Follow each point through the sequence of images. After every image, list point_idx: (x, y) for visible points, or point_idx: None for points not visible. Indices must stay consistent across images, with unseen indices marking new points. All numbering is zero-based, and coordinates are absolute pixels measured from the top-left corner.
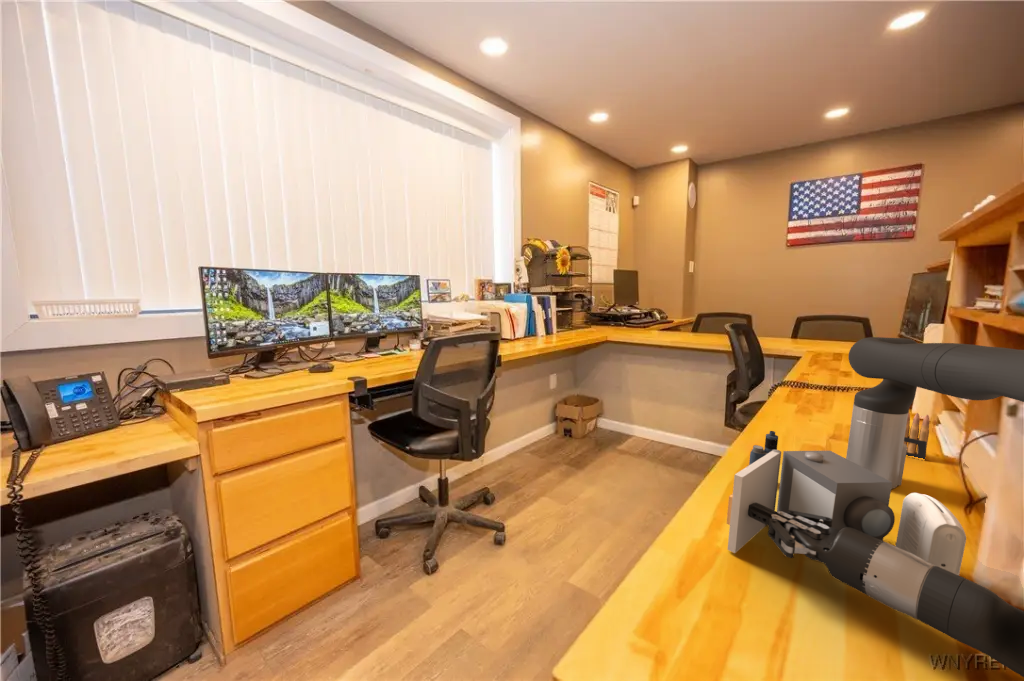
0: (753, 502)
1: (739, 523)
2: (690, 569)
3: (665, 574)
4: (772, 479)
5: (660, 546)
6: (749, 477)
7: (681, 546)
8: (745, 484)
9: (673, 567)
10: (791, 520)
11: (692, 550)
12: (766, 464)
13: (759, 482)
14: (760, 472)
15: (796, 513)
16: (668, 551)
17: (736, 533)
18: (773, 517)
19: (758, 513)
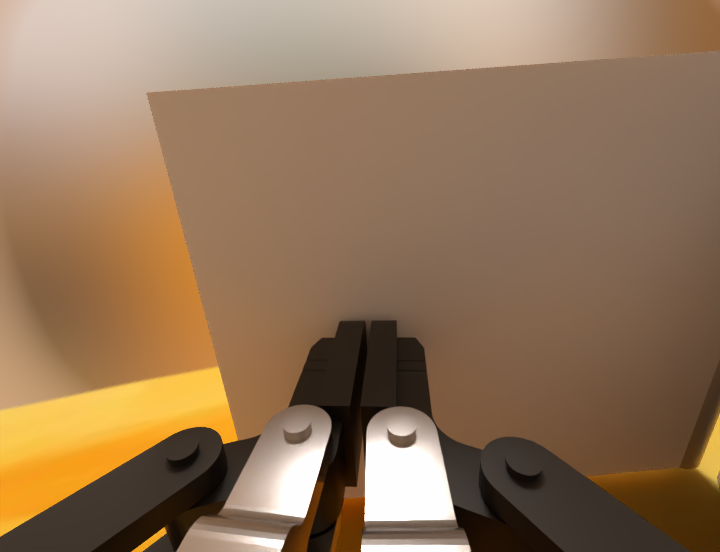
0: (408, 322)
1: (246, 391)
2: (68, 470)
3: (6, 445)
4: (686, 242)
5: (160, 378)
6: (284, 128)
7: (196, 400)
8: (233, 168)
9: (58, 439)
10: (239, 546)
11: (194, 423)
12: (577, 90)
13: (473, 212)
14: (475, 135)
15: (552, 504)
16: (145, 397)
17: (236, 430)
18: (267, 429)
19: (304, 373)
